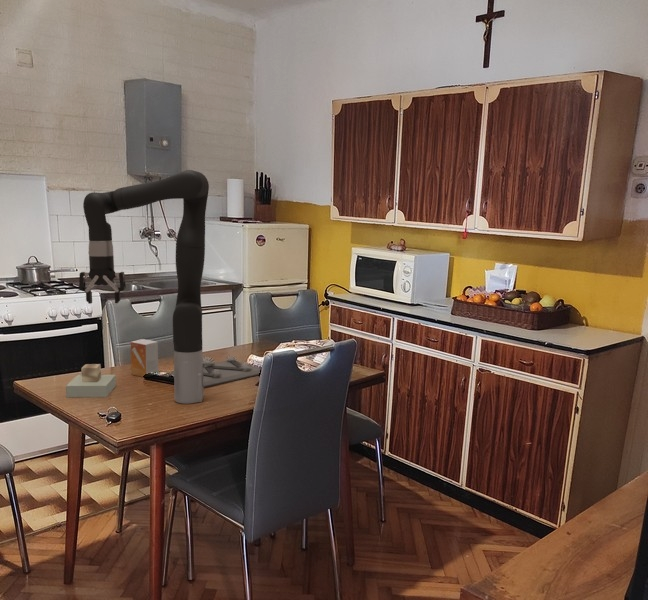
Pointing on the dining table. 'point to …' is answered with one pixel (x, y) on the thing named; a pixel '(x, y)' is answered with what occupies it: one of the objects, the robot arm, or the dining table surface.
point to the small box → (144, 357)
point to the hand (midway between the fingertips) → (103, 303)
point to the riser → (91, 387)
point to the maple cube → (91, 372)
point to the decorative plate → (225, 371)
